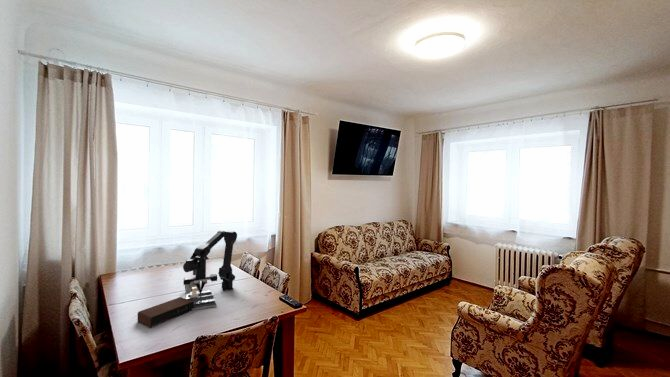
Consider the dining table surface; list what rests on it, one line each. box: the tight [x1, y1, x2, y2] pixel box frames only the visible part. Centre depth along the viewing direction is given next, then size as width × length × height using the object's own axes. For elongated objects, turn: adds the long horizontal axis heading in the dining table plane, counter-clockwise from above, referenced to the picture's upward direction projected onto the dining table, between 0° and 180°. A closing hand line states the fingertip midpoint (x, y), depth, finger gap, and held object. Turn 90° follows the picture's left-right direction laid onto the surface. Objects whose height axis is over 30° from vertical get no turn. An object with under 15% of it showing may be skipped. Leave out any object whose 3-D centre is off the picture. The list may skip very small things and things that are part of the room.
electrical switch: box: [184, 276, 201, 294], centre depth 190 cm, size 9×5×9 cm, turn 141°
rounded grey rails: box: [191, 302, 217, 312], centre depth 165 cm, size 17×4×1 cm, turn 117°
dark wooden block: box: [137, 296, 195, 329], centre depth 154 cm, size 24×12×6 cm, turn 151°
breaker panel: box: [184, 289, 216, 306], centre depth 175 cm, size 16×18×4 cm
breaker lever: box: [190, 287, 199, 298], centre depth 174 cm, size 4×4×6 cm
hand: (200, 293), depth 175 cm, fingers closed
